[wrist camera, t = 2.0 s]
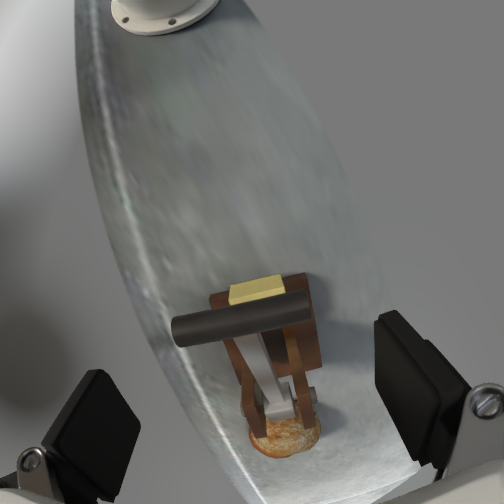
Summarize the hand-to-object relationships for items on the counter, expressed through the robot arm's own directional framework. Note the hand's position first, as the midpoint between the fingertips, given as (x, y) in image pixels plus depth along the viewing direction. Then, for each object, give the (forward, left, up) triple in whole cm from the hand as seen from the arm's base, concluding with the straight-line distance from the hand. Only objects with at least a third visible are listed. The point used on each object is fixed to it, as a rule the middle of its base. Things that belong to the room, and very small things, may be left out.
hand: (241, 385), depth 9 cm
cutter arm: (+5, 0, -8) cm, 9 cm away
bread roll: (+27, -2, -20) cm, 34 cm away
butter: (+6, 0, -19) cm, 20 cm away
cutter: (+11, 0, -20) cm, 23 cm away
